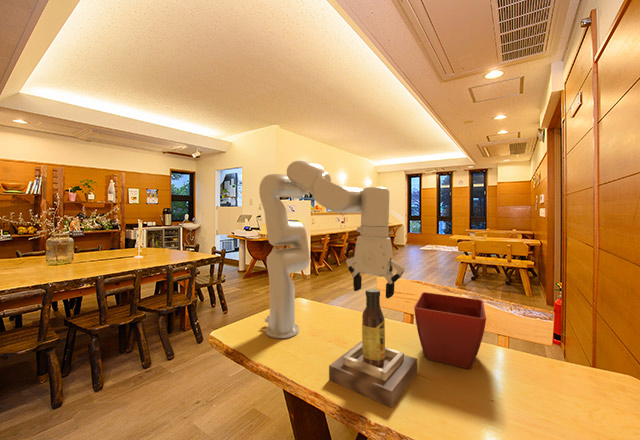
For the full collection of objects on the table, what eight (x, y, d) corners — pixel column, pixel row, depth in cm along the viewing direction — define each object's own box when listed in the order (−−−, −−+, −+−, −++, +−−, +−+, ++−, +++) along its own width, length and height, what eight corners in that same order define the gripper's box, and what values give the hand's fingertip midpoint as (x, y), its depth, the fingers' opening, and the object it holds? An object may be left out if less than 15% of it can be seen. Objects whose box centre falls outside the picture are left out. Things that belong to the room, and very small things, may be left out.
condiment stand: (329, 379, 76) (329, 358, 76) (361, 353, 90) (361, 334, 90) (391, 408, 65) (391, 382, 65) (417, 372, 79) (417, 351, 79)
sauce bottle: (385, 368, 74) (384, 294, 74) (361, 366, 75) (361, 293, 75) (384, 356, 80) (384, 288, 80) (363, 355, 81) (362, 287, 81)
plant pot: (482, 349, 93) (483, 299, 92) (485, 379, 76) (486, 318, 76) (422, 337, 102) (422, 291, 101) (412, 361, 85) (413, 307, 85)
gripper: (340, 231, 79) (339, 290, 80) (399, 235, 68) (397, 304, 69) (354, 229, 85) (352, 284, 86) (410, 233, 74) (408, 296, 75)
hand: (372, 293), depth 77 cm, fingers open, 9 cm apart
